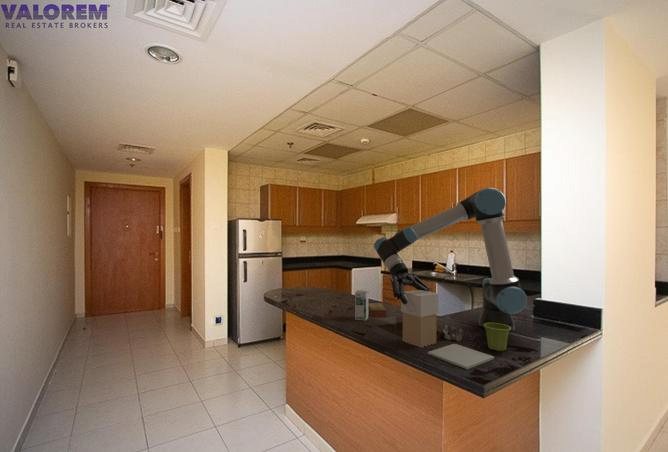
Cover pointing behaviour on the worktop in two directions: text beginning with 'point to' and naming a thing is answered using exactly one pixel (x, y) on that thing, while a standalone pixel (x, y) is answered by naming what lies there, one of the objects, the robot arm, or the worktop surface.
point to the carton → (376, 310)
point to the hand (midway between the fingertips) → (423, 308)
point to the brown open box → (419, 329)
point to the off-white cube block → (421, 303)
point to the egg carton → (453, 333)
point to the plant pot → (497, 335)
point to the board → (461, 356)
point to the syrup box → (361, 305)
